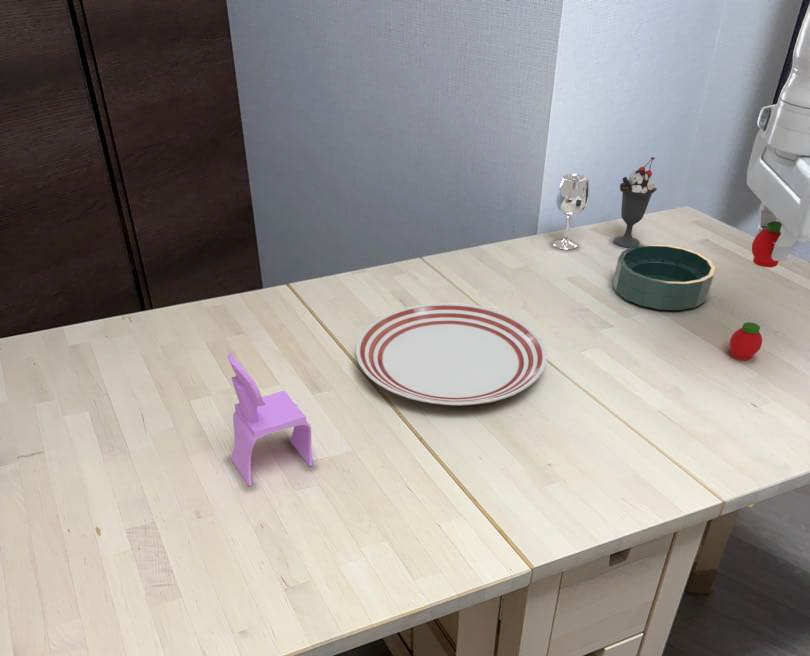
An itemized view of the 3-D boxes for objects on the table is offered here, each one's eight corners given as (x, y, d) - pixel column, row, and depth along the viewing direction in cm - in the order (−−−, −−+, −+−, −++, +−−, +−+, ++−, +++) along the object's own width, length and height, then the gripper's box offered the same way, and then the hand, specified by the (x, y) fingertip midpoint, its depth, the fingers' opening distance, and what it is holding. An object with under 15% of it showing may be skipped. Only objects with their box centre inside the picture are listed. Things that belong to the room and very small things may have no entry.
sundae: (648, 240, 144) (668, 156, 133) (637, 252, 140) (657, 166, 129) (615, 233, 146) (632, 150, 136) (604, 244, 142) (620, 160, 132)
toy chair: (319, 469, 91) (310, 360, 81) (252, 491, 88) (233, 381, 78) (292, 434, 96) (280, 328, 86) (227, 454, 93) (207, 346, 83)
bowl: (694, 273, 133) (702, 245, 130) (716, 314, 122) (726, 285, 118) (606, 270, 133) (612, 243, 130) (621, 311, 122) (627, 282, 119)
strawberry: (776, 256, 97) (789, 218, 94) (788, 270, 94) (802, 232, 91) (742, 255, 97) (754, 218, 94) (753, 269, 94) (766, 231, 91)
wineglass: (566, 253, 139) (577, 185, 130) (543, 243, 142) (552, 177, 134) (586, 245, 141) (598, 179, 133) (563, 236, 145) (574, 170, 136)
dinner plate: (557, 420, 99) (561, 399, 97) (352, 419, 99) (351, 398, 97) (531, 322, 119) (533, 302, 117) (360, 321, 119) (359, 301, 116)
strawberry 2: (751, 348, 114) (762, 319, 111) (760, 363, 111) (771, 333, 107) (722, 347, 114) (732, 318, 111) (730, 362, 111) (740, 332, 107)
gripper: (878, 158, 77) (825, 285, 87) (807, 106, 92) (769, 219, 102) (817, 158, 78) (771, 285, 87) (756, 105, 92) (722, 219, 102)
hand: (769, 249), depth 95 cm, fingers closed on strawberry, 4 cm apart
